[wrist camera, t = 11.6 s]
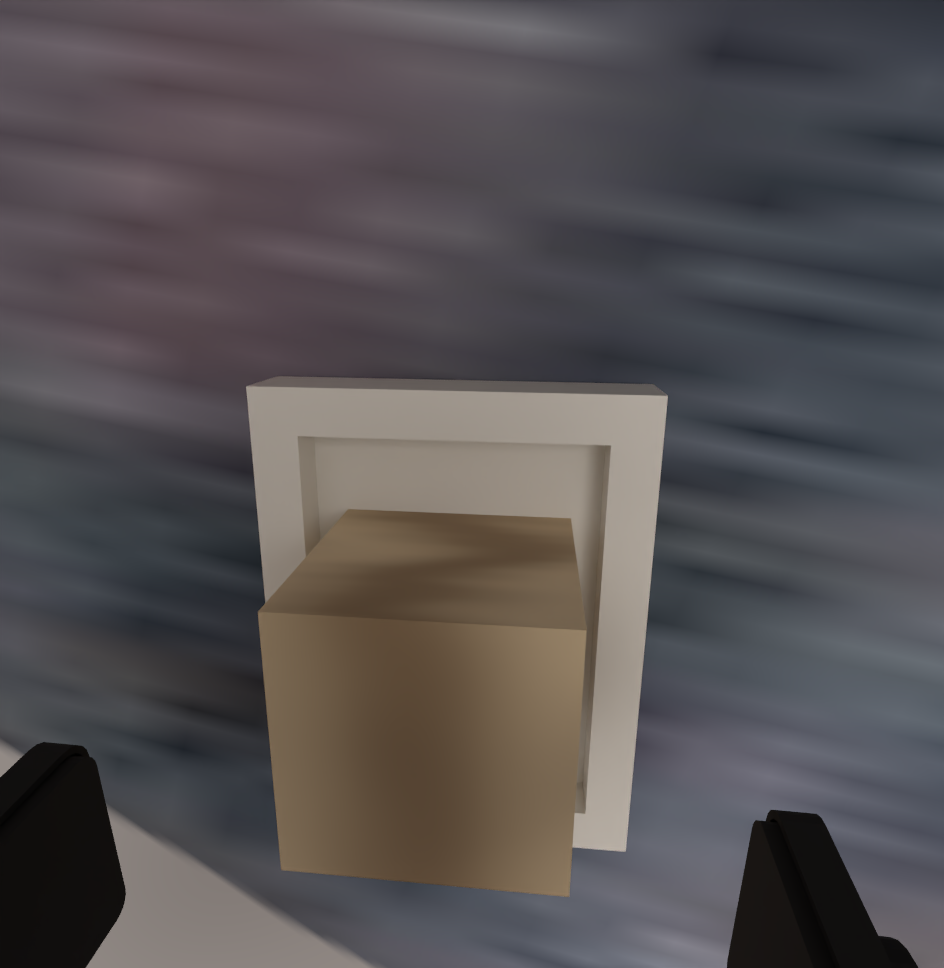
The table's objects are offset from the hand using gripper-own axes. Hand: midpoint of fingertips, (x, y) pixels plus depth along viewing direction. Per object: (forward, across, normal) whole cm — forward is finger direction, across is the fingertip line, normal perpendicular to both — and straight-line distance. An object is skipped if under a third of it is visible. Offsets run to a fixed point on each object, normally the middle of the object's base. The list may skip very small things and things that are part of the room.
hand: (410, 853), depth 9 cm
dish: (+10, +1, +2) cm, 10 cm away
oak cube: (+9, +1, +2) cm, 9 cm away
